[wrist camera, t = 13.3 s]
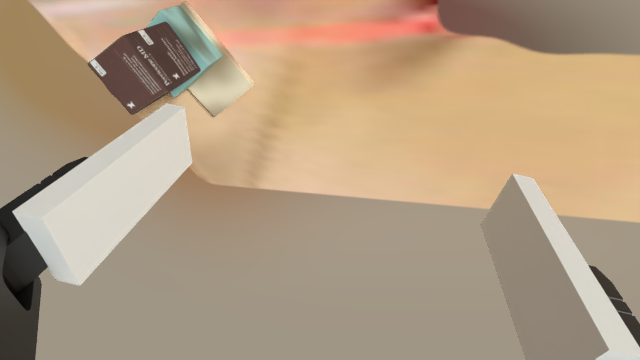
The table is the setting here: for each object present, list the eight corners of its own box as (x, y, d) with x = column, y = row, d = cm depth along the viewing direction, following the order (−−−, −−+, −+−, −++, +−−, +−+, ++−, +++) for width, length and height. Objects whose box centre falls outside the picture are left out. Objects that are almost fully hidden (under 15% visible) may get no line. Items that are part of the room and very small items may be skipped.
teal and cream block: (151, 42, 41) (125, 52, 37) (186, 1, 38) (163, 7, 34) (217, 114, 46) (201, 129, 42) (255, 83, 42) (241, 97, 38)
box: (203, 70, 37) (168, 93, 31) (169, 91, 39) (131, 116, 34) (167, 19, 34) (121, 34, 28) (132, 45, 37) (84, 64, 31)
